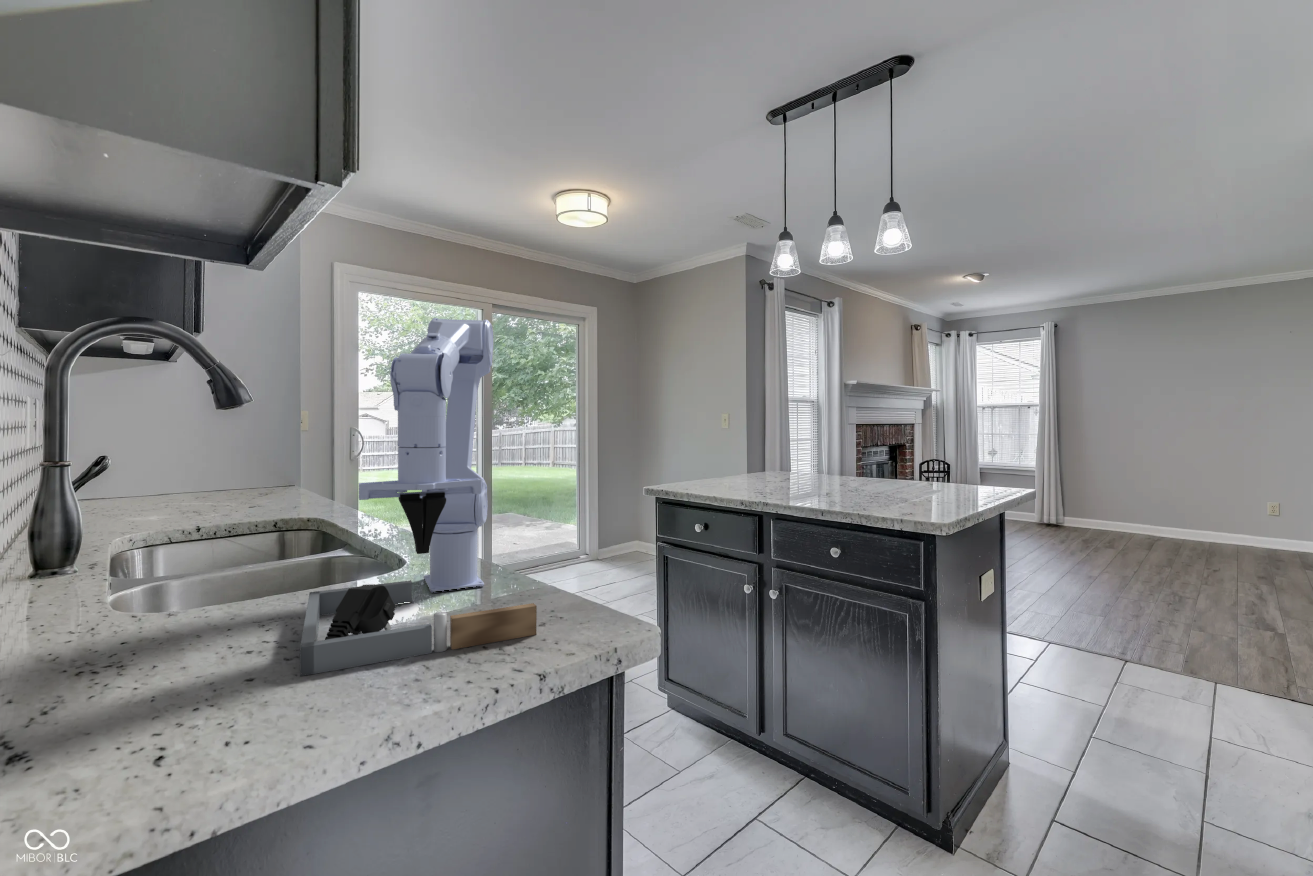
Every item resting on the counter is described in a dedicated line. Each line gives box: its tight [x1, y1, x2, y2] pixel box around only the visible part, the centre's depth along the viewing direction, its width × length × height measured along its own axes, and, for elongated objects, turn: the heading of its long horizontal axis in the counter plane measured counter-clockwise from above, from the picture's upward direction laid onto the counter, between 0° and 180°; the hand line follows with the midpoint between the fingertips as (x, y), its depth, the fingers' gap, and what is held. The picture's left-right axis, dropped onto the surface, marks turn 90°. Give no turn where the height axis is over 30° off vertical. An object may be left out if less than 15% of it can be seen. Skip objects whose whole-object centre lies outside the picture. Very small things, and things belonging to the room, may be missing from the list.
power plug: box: [324, 583, 397, 640], centre depth 67 cm, size 6×8×12 cm
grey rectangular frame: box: [299, 580, 448, 677], centre depth 71 cm, size 21×14×4 cm
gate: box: [449, 602, 538, 650], centre depth 69 cm, size 10×1×4 cm, turn 119°
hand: (422, 552), depth 73 cm, fingers closed
